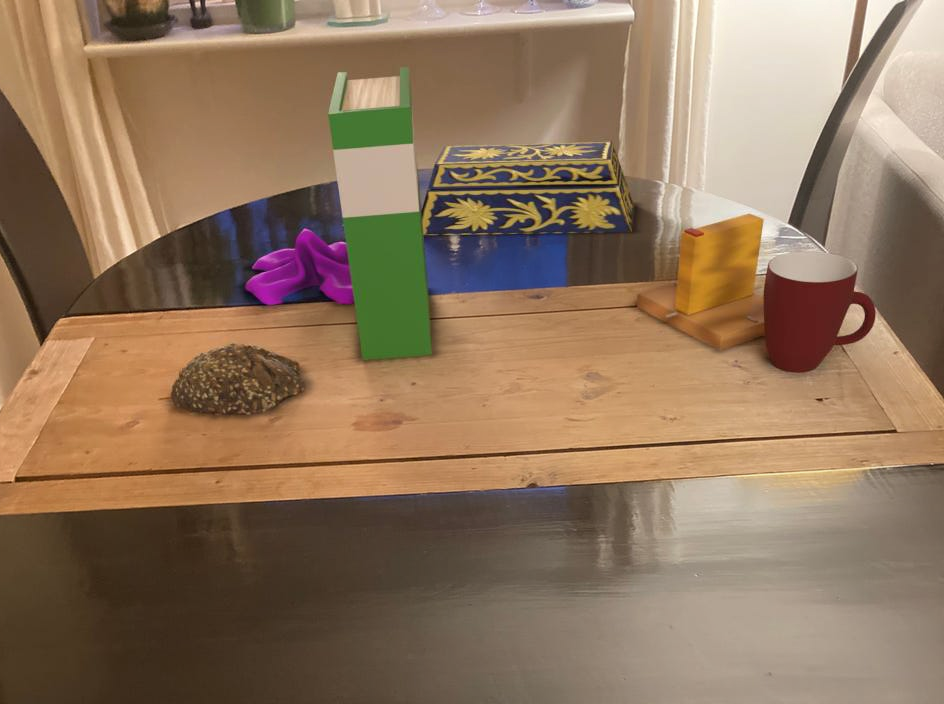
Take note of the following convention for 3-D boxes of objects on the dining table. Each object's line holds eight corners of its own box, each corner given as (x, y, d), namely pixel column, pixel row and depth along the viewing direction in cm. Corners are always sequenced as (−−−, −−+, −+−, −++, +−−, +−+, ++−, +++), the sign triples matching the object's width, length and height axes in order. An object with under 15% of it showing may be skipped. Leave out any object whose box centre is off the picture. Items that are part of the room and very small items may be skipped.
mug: (850, 347, 98) (872, 247, 91) (872, 383, 92) (897, 279, 85) (745, 351, 99) (759, 252, 92) (760, 387, 93) (777, 284, 86)
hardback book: (367, 299, 115) (337, 72, 99) (428, 294, 115) (408, 66, 99) (363, 363, 102) (328, 113, 86) (432, 358, 102) (409, 107, 86)
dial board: (803, 325, 102) (807, 306, 101) (707, 358, 98) (709, 338, 96) (716, 286, 112) (718, 267, 110) (624, 314, 107) (625, 295, 106)
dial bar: (739, 288, 106) (749, 210, 100) (753, 294, 104) (764, 216, 99) (674, 308, 103) (681, 229, 97) (687, 315, 101) (695, 235, 96)
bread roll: (157, 409, 97) (143, 363, 93) (230, 358, 105) (220, 314, 102) (260, 430, 92) (250, 383, 89) (328, 375, 100) (321, 329, 97)
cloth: (389, 305, 113) (383, 253, 109) (234, 317, 113) (222, 264, 109) (393, 240, 130) (388, 193, 126) (258, 250, 130) (248, 203, 126)
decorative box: (425, 212, 138) (419, 145, 132) (635, 208, 134) (639, 138, 128) (412, 238, 130) (406, 167, 124) (635, 235, 126) (639, 161, 120)
